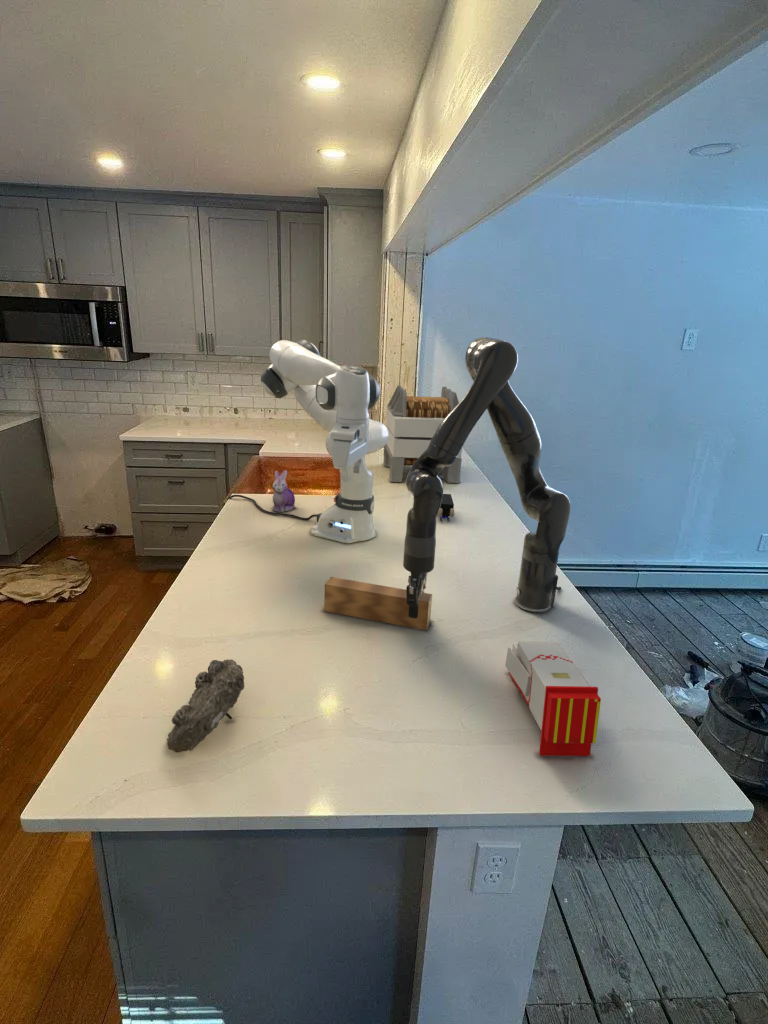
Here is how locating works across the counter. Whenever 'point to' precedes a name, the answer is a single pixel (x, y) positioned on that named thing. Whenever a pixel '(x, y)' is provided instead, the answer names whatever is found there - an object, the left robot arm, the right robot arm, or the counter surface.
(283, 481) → the figurine
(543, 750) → the toy
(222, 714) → the fossil
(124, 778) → the counter surface
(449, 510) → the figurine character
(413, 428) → the legged crate with fins
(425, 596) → the bar
